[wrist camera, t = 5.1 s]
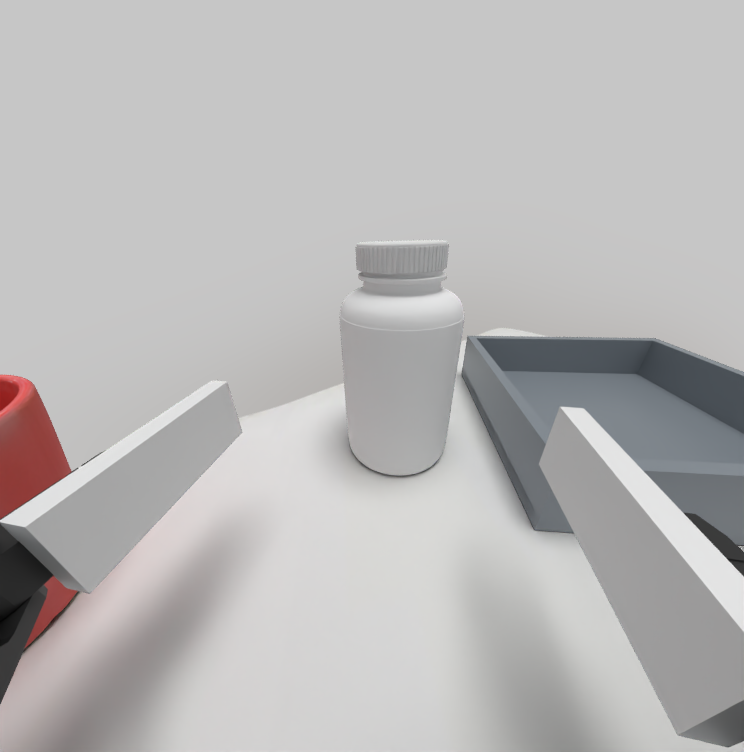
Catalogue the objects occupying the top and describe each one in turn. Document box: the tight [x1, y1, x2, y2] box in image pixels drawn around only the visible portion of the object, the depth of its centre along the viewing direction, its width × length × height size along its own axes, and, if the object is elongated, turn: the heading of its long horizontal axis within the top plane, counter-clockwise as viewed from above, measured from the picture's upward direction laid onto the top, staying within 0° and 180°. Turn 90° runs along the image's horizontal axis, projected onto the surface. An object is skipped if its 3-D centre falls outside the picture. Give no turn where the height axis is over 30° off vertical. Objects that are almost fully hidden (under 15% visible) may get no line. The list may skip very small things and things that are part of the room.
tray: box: [462, 336, 744, 545], centre depth 22 cm, size 20×20×5 cm
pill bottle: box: [340, 240, 464, 475], centre depth 19 cm, size 8×8×15 cm
